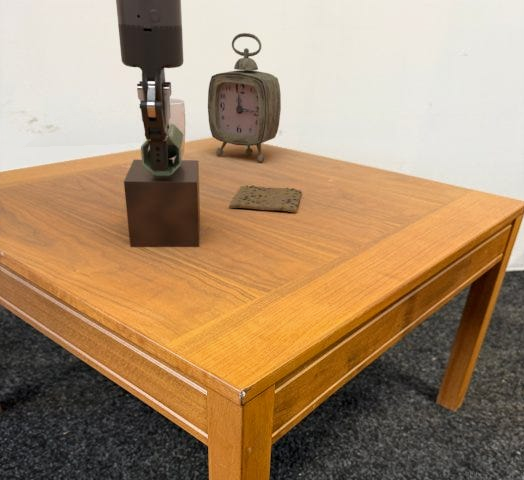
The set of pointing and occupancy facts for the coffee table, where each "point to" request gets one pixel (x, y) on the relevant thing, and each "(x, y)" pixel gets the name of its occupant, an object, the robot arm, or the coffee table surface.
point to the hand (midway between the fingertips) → (160, 169)
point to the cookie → (267, 198)
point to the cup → (174, 150)
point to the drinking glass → (178, 116)
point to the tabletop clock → (244, 104)
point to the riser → (163, 206)
